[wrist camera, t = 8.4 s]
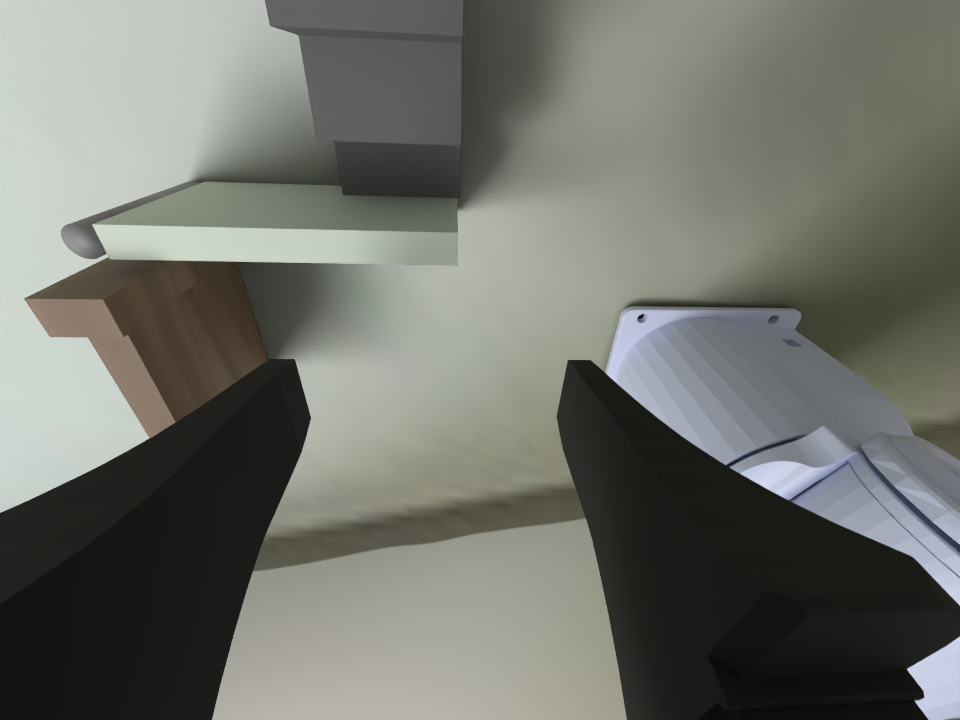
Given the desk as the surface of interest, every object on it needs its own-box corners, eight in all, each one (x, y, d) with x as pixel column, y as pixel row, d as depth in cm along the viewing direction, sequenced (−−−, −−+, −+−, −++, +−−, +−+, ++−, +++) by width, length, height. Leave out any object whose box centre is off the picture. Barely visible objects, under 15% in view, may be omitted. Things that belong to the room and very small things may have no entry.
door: (188, 206, 16) (73, 258, 11) (179, 180, 16) (53, 223, 11) (457, 213, 17) (457, 265, 12) (457, 189, 16) (457, 232, 12)
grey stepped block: (322, -54, 13) (235, -144, 8) (460, -44, 13) (464, -126, 8) (354, 184, 16) (310, 225, 12) (459, 187, 17) (461, 229, 12)
